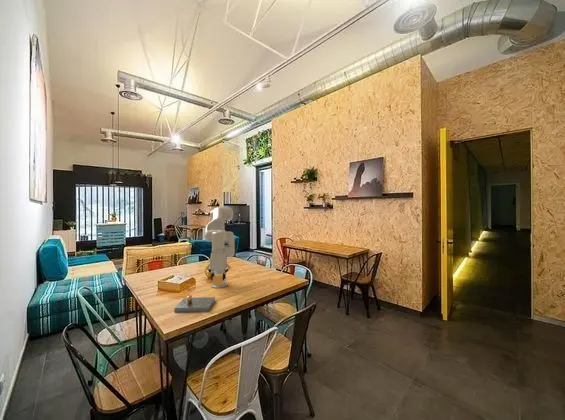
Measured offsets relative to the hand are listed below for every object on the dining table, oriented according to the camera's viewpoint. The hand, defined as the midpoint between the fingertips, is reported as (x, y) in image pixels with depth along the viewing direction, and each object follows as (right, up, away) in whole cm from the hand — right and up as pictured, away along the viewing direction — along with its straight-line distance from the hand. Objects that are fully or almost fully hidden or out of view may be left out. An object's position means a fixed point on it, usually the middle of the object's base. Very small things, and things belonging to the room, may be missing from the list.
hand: (218, 279), depth 150 cm
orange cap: (0, -3, +1) cm, 3 cm away
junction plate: (-14, -17, -1) cm, 22 cm away
